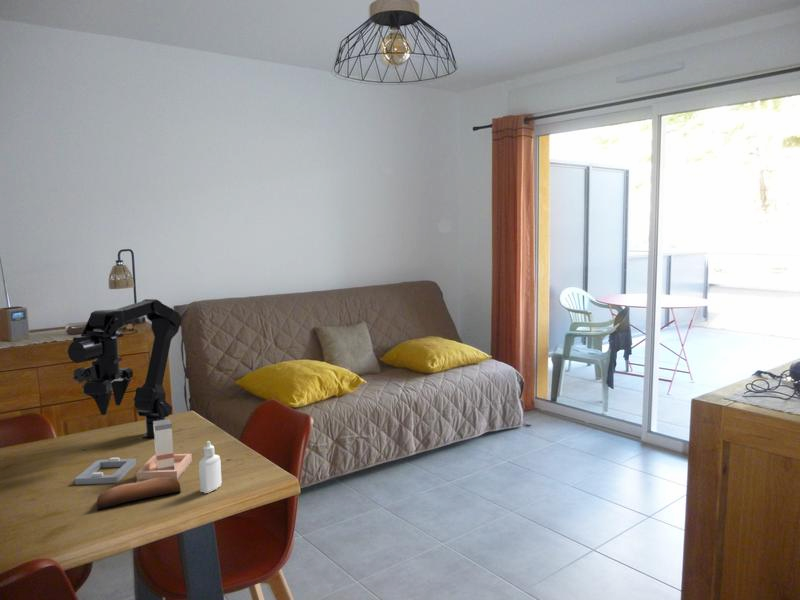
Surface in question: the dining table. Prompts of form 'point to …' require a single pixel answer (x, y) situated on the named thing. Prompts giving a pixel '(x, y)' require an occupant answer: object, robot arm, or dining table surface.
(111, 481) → the clip frame
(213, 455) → the eye dropper bottle
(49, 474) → the dining table surface
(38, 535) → the dining table surface
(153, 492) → the sunglasses case
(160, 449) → the white rectangular block
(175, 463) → the dish
